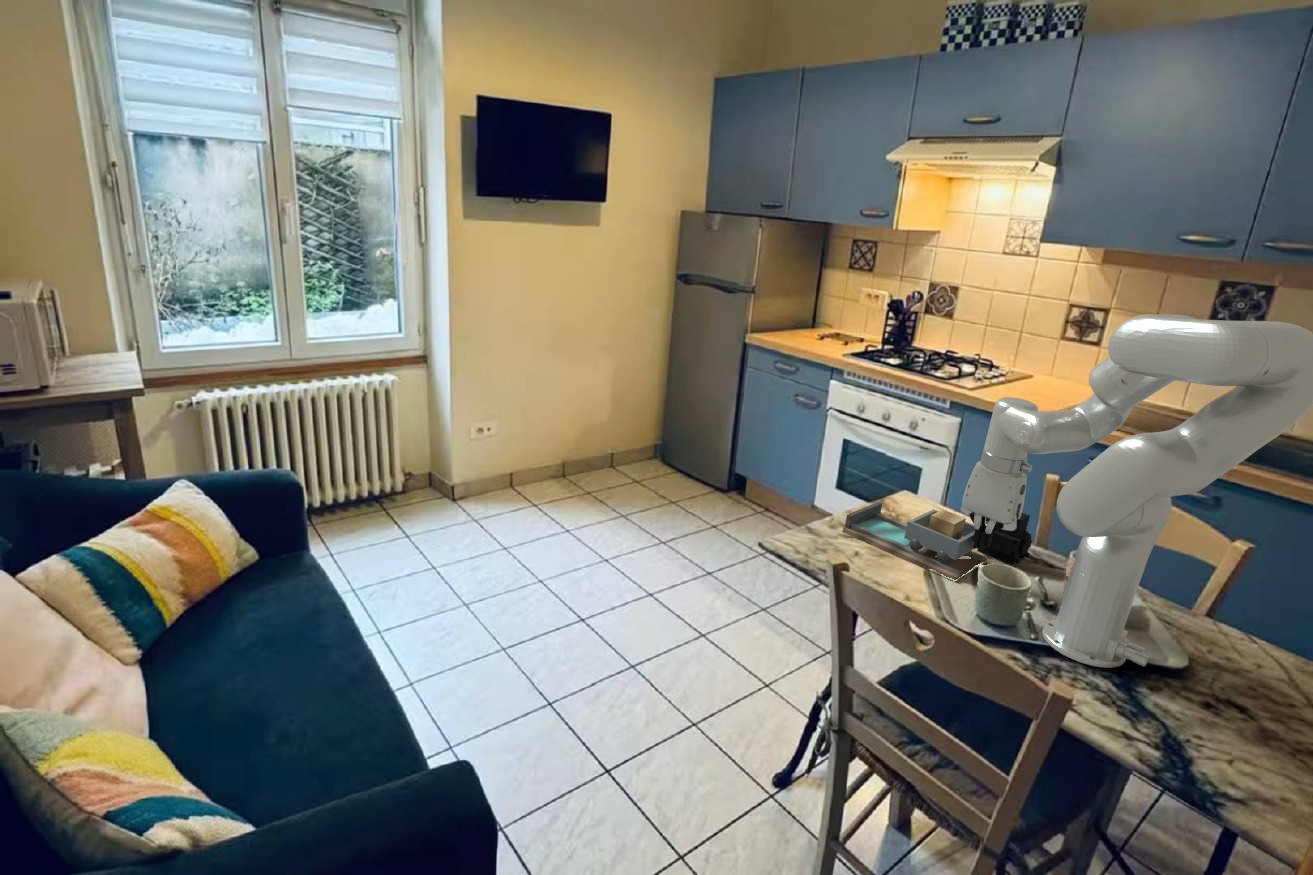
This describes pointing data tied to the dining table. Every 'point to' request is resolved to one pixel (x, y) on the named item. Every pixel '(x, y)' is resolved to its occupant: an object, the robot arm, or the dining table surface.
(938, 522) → the block
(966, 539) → the cart
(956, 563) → the track
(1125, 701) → the dining table surface
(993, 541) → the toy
